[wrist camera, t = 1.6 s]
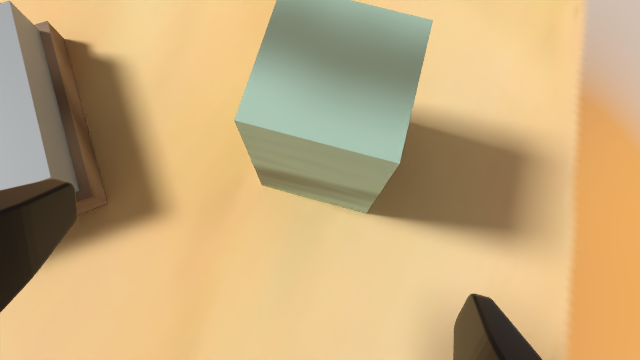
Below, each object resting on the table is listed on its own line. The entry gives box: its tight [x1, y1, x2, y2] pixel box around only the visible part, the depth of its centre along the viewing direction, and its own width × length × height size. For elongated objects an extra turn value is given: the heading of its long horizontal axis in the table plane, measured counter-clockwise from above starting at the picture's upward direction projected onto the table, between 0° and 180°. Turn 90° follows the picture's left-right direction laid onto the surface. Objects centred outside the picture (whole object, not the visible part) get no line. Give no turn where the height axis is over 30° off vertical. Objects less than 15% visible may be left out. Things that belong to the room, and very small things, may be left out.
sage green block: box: [235, 0, 433, 213], centre depth 20 cm, size 6×6×9 cm
